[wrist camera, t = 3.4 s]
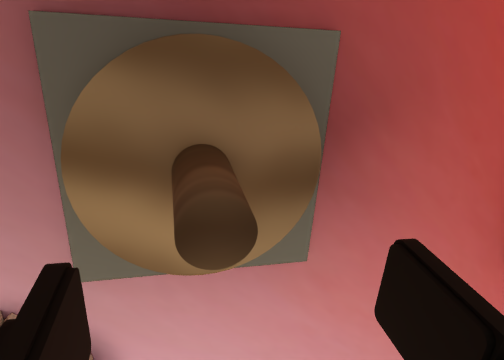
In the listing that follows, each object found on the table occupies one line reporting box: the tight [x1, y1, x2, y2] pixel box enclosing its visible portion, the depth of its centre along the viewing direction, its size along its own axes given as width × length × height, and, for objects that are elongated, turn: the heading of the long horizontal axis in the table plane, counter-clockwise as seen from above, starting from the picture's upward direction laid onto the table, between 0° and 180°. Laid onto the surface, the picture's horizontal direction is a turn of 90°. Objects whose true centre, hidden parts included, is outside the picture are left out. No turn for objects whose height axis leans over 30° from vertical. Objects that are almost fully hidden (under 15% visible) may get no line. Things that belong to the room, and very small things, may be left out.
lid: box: [61, 34, 321, 275], centre depth 16 cm, size 13×13×7 cm
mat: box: [28, 11, 341, 282], centre depth 19 cm, size 14×14×1 cm
